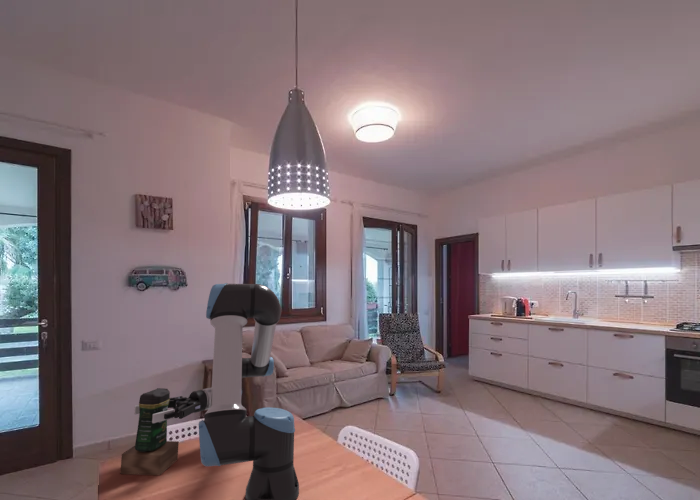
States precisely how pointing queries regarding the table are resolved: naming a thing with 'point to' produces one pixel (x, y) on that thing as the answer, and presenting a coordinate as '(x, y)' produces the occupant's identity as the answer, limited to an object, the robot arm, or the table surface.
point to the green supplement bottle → (148, 432)
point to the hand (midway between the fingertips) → (143, 414)
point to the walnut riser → (149, 460)
